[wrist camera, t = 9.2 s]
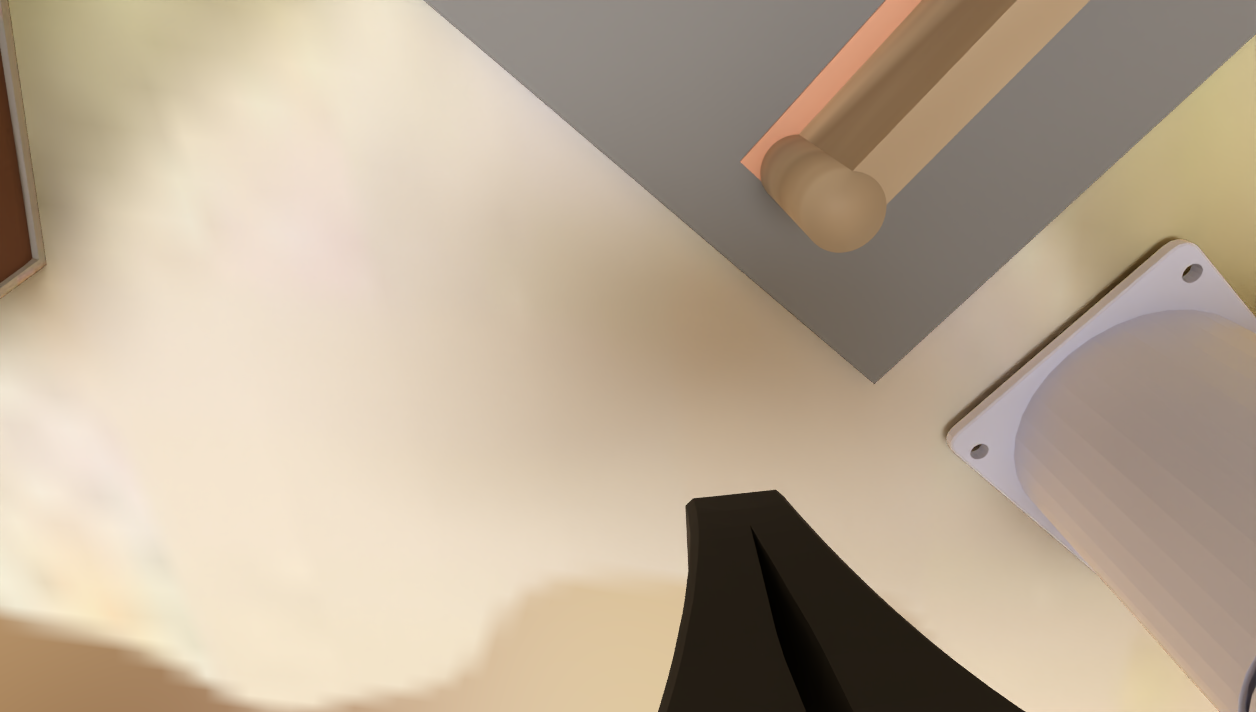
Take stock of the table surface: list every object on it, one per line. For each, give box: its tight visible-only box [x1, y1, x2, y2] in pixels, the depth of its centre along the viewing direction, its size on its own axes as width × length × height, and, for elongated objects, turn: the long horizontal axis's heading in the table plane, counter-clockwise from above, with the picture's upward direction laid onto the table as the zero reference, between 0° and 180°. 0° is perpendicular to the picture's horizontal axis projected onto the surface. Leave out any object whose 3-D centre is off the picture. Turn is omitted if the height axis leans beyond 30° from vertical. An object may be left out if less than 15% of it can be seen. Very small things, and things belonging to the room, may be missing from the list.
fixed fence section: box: [760, 0, 1090, 253], centre depth 15 cm, size 2×11×4 cm, turn 139°
